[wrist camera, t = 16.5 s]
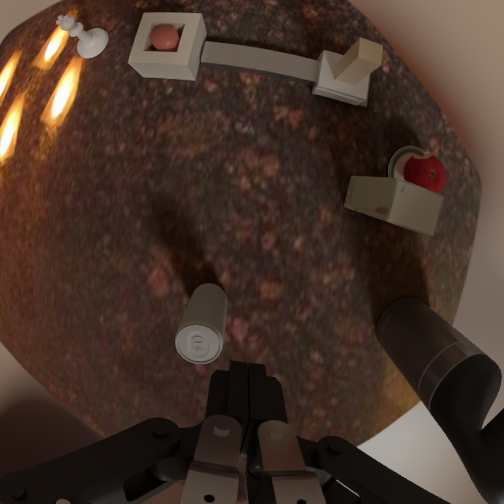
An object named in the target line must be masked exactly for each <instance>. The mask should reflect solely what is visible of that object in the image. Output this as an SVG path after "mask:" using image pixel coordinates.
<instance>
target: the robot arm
mask: <svg viewBox="0 0 504 504" xmlns="http://www.w3.org/2000/svg"><path fill="white" fill-rule="evenodd" d="M376 336H377V340H378V342H379V343H380V345H381V346H382V347H383V349H384V350H385V351H386V353H387V354H388V356H389V357H390V358H391V360H392V361H393V362H394V364H395V365H396V366H397V368H398V369H399V371H400V372H401V373H402V375H403V376H404V377H405V379H406V380H407V382H408V383H409V384H410V386H411V387H412V388H413V390H414V391H415V393H416V394H417V395H418V397H419V398H420V400H421V401H422V402H423V404H424V405H425V406H426V408H427V409H428V411H429V412H430V414H431V415H432V416H433V418H434V419H435V421H436V422H437V423H438V425H439V426H440V427H441V428H442V430H443V431H444V433H445V434H446V436H447V437H448V439H449V440H450V442H451V443H452V445H453V446H454V448H455V450H456V452H457V453H458V455H459V457H460V458H461V460H462V462H463V464H464V466H465V468H466V470H467V472H468V474H469V476H470V478H471V480H472V481H473V483H474V485H475V487H476V488H477V490H478V492H479V493H480V494H481V496H482V497H483V498H484V500H485V501H486V502H487V503H488V504H504V408H503V409H502V410H501V411H500V412H499V414H497V416H495V417H494V418H493V419H492V420H491V421H490V422H489V423H488V424H487V425H486V426H485V427H484V428H483V429H482V430H481V428H482V425H483V422H484V420H485V418H486V415H487V413H488V411H489V409H490V407H491V406H492V404H493V402H494V400H495V398H496V397H497V394H498V392H499V389H500V386H501V379H502V374H501V370H500V368H499V366H498V365H497V364H496V363H495V362H494V361H493V360H492V359H491V358H490V357H488V356H487V355H486V354H485V353H484V352H483V351H481V350H480V349H479V348H478V347H477V346H476V345H475V344H473V343H472V342H471V341H470V340H468V339H467V338H466V337H465V336H464V335H463V334H461V333H460V332H459V331H458V330H456V329H455V328H454V327H453V326H452V325H450V324H449V323H448V322H447V321H446V320H444V319H443V318H442V317H441V316H439V315H438V314H437V313H436V312H434V311H433V310H432V309H431V308H429V307H428V306H427V305H426V304H424V303H423V302H422V301H421V300H419V299H417V298H415V297H403V298H400V299H398V300H396V301H394V302H393V303H392V304H390V305H389V306H388V307H387V308H386V309H385V310H384V312H383V313H382V315H381V316H380V318H379V320H378V323H377V327H376ZM282 393H283V392H282V386H281V384H280V383H279V381H278V380H277V379H276V377H270V376H266V369H265V365H262V364H254V363H248V364H247V363H246V362H239V361H232V360H230V364H229V370H228V371H224V370H216V371H215V372H214V373H213V374H212V375H211V380H210V387H209V393H208V400H207V407H206V415H205V418H204V420H203V421H202V422H201V423H200V424H198V425H196V426H193V427H187V428H179V427H178V426H177V425H176V424H175V423H174V422H172V421H171V420H168V419H165V418H157V417H156V418H150V419H147V420H145V421H143V422H141V423H139V424H137V425H135V426H133V427H130V428H128V429H126V430H124V431H122V432H119V433H117V434H115V435H112V436H110V437H108V438H106V439H103V440H101V441H99V442H96V443H94V444H91V445H89V446H86V447H84V448H81V449H79V450H76V451H74V452H71V453H68V454H66V455H63V456H61V457H58V458H55V459H52V460H49V461H47V462H44V463H41V464H38V465H35V466H32V467H29V468H26V469H23V470H19V471H16V472H13V473H9V474H7V475H4V476H3V477H2V478H1V479H0V500H1V502H2V503H3V504H141V503H142V502H144V501H146V500H148V499H149V498H151V497H153V496H154V495H156V494H158V493H160V492H161V491H163V490H164V489H166V488H168V487H169V486H171V485H172V484H174V483H175V482H176V481H177V480H184V479H186V483H185V487H184V491H183V494H182V498H181V502H180V504H236V498H237V489H238V480H239V471H238V462H239V453H240V457H247V465H246V468H245V481H246V489H247V497H248V504H450V503H449V502H447V501H445V500H443V499H441V498H439V497H438V496H436V495H434V494H432V493H430V492H428V491H427V490H425V489H423V488H421V487H420V486H418V485H416V484H414V483H413V482H411V481H409V480H407V479H406V478H404V477H402V476H401V475H399V474H397V473H396V472H394V471H393V470H391V469H389V468H387V467H386V466H384V465H383V464H381V463H380V462H378V461H376V460H375V459H373V458H372V457H370V456H369V455H367V454H366V453H364V452H363V451H361V450H360V449H358V448H357V447H355V446H354V445H352V444H351V443H349V442H348V441H346V440H345V439H343V438H341V437H337V436H326V437H323V438H321V439H320V440H319V441H318V442H314V441H310V440H306V439H303V438H301V437H299V436H297V435H296V433H295V431H294V430H293V428H292V427H291V426H289V425H288V421H287V415H286V409H285V403H284V398H283V394H282ZM336 480H338V481H340V482H341V483H343V484H344V485H345V486H347V487H348V488H350V489H351V490H352V491H354V492H355V493H357V494H358V495H359V496H360V497H359V496H357V495H356V494H355V493H353V492H351V491H350V490H349V489H347V488H346V487H344V486H343V485H342V484H340V483H339V482H337V481H336Z"/></svg>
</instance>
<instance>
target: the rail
mask: <svg viewBox="0 0 504 504" xmlns="http://www.w3.org/2000/svg"><path fill="white" fill-rule="evenodd" d="M200 62H201V65H202V67H206V68H215V69H223V70H230V71H237V72H244V73H250V74H256V75H262V76H267V77H273V78H278V79H283V80H287V81H292V82H296V83H301V84H305V85H309V86H313V87H314V86H315V85H316V82H317V75H318V69H319V63H320V61H317V60H313V59H309V58H305V57H300V56H296V55H291V54H287V53H282V52H277V51H272V50H266V49H261V48H255V47H249V46H242V45H235V44H227V43H218V42H208V41H206V42H205V46H204V50H203V54H202V58H201V61H200ZM370 76H371V74H369V83H368V91H367V99H366V100H365V101H363V102H362V103H361V104H359V105H357V106H359V107H362V108H366V107H367V100H368V92H369V84H370Z"/></svg>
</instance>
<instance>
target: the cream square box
mask: <svg viewBox="0 0 504 504" xmlns="http://www.w3.org/2000/svg"><path fill="white" fill-rule="evenodd" d="M165 25H168V26H172V27H174V28H175V29H176V31H177V33H178V35H179V37H180V39H181V40H180V43H179V47H178V50H177V52H158V51H157V49H156V48H155V46H154V45H153V44H152V42H151V35H152V33H153V32H154V31H155V30H156V29H157V28H159V27H161V26H165ZM206 36H207V33H206V29H205V25H204V21H203V17H202V14H198V13H170V12H156V13H144V14H143V17H142V19H141V22H140V25H139V28H138V31H137V34H136V37H135V40H134V44H133V47H132V50H131V53H130V57H129V60H128V63H129V64H130V65H131V66H132V67H133V68H134V69H135V70H136V71H137V72H138V73H139V74H140V75H142V76H143V77H152V78H169V79H183V80H194V81H195V80H196V75H197V71H198V67H199V63H200V59H201V55H202V51H203V47H204V44H205V40H206Z"/></svg>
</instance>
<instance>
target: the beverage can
mask: <svg viewBox="0 0 504 504" xmlns="http://www.w3.org/2000/svg"><path fill="white" fill-rule="evenodd" d="M227 302H228V300H227V296H226V294H225V292H224V291H223V290H222V288H221V287H219V286H218V285H215V284H212V283H205V284H202V285H200V286H198V287H197V288H196V289H195V291H194V292H193V294H192V297H191V299H190V301H189V304H188V306H187V308H186V310H185V313H184V315H183V317H182V320H181V322H180V325H179V328H178V330H177V333H176V343H175V345H176V348H177V351H178V352H179V354H180V355H181V356H182V357H183V358H184V359H186V360H187V361H189V362H192V363H196V364H206V363H209V362H212V361H213V360H215V359H216V358H217V357H218V356H219V354H220V352H221V349H222V347H223V339H224V330H225V321H226V312H227Z"/></svg>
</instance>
